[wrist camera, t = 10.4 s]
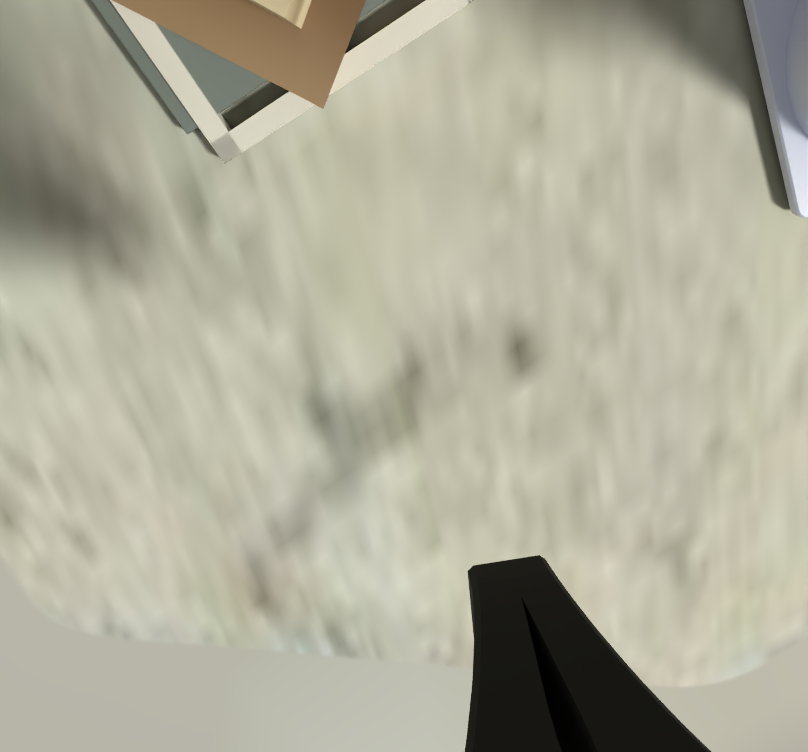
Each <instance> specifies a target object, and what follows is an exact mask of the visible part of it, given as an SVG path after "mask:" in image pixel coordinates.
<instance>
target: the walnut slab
mask: <svg viewBox="0 0 808 752" xmlns="http://www.w3.org/2000/svg"><path fill="white" fill-rule="evenodd" d="M112 1H114V2H116V3H118V4H120V5H122V6H124V7H126V8H128V9H130V10H132V11H134V12H136V13H138V14H140V15H142V16H144V17H146V18H148V19H149V20H151V21H153V22H155V23H157V24H159V25H161V26H163V27H165V28H167V29H169V30H171V31H173V32H175V33H177V34H179V35H181V36H183V37H185V38H186V39H188V40H190V41H192V42H194V43H196V44H198V45H200V46H202V47H204V48H206V49H208V50H210V51H212V52H214V53H216V54H218V55H220V56H222V57H223V58H225V59H227V60H229V61H231V62H233V63H235V64H237V65H239V66H241V67H243V68H245V69H247V70H249V71H251V72H253V73H255V74H257V75H259V76H260V77H262V78H264V79H266V80H268V81H270V82H272V83H274V84H276V85H278V86H280V87H282V88H284V89H286V90H288V91H290V92H292V93H294V94H296V95H297V96H299V97H301V98H303V99H305V100H307V101H309V102H311V103H313V104H315V105H317V106H319V107H321V108H324V106H325V103H326V101H327V98H328V96H329V93H330V91H331V88H332V85H333V83H334V80H335V78H336V75H337V73H338V70H339V68H340V65H341V62H342V60H343V57H344V55H345V52H346V50H347V47H348V45H349V42H350V39H351V37H352V34H353V32H354V29H355V27H356V24H357V22H358V19H359V16H360V14H361V11H362V9H363V6H364V4H365V1H366V0H312V1H311V3H310V6H309V9H308V12H307V15H306V17H305V20H304V23H303V26H302V28H301V29H300V28H298V27H297V26H295V25H293V24H291V23H289V22H288V21H286V20H284V19H282V18H280V17H279V16H277V15H275V14H273V13H271V12H269V11H268V10H266V9H264V8H262V7H260V6H259V5H257V4H255V3H253V2H251V1H250V0H112Z"/></svg>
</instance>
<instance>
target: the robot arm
mask: <svg viewBox="0 0 808 752" xmlns="http://www.w3.org/2000/svg"><path fill="white" fill-rule="evenodd" d="M743 1H744V6H745V10H746V14H747V19H748V23H749V28H750V32H751V37H752V41H753V46H754V50H755V55H756V59H757V63H758V68H759V72H760V77H761V81H762V86H763V90H764V95H765V99H766V104H767V108H768V112H769V117H770V121H771V126H772V130H773V135H774V139H775V144H776V148H777V153H778V157H779V161H780V166H781V170H782V175H783V179H784V184H785V188H786V193H787V197H788V202H789V206H790V209H791V211H792V213H793V214H795V215H796V216H799V217H802V218H808V0H743ZM468 579H469V590H470V600H471V611H472V621H473V632H474V660H473V681H472V693H471V703H470V712H469V722H468V732H467V740H466V747H465V752H711V751H710V750H709V749H708V748H707V747H706V746H705V745H704V744H702V742H700V740H698V739H697V738H696V737H695V736H694V735H693V734H692V733H691V732H690V731H689V730H688V729H687V728H686V727H685V726H684V725H683V724H682V723H681V722H680V721H679V720H678V719H677V718H676V717H675V716H674V715H673V714H672V713H671V711H670V710H668V709H667V707H666V706H665V705H664V704H663V703H662V702H661V701H660V700H659V699H658V698H657V697H656V696H655V695H654V694H653V693H652V691H651V690H650V689H649V688H648V687H647V686H646V685H645V684H644V683H643V682H642V681H641V680H640V678H639V677H638V676H637V675H636V674H635V673H634V672H633V671H632V670H631V668H630V667H629V666H628V665H627V664H626V663H625V662H624V661H623V659H622V658H621V657H620V656H619V655H618V653H617V652H616V651H615V650H614V649H613V648H612V646H611V645H610V644H609V643H608V642H607V641H606V639H605V638H604V637H603V636H602V635H601V634H600V632H599V631H598V630H597V629H596V627H595V626H594V625H593V624H592V623H591V621H590V620H589V619H588V618H587V616H586V615H585V614H584V612H583V611H582V610H581V609H580V607H579V606H578V605H577V603H576V602H575V601H574V600H573V598H572V597H571V596H570V594H569V593H568V591H567V590H566V589H565V587H564V586H563V585H562V583H561V582H560V580H559V579H558V578H557V576H556V575H555V573H554V572H553V570H552V569H551V567H550V566H549V564H548V563H547V561H546V560H545V559H544V558H543V557H541V556H540V555H538V556H532V557H526V558H519V559H513V560H507V561H500V562H494V563H487V564H481V565H475V566H473V567H472V568H471V569H470V570H468Z"/></svg>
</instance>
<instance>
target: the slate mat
mask: <svg viewBox="0 0 808 752" xmlns="http://www.w3.org/2000/svg"><path fill="white" fill-rule="evenodd" d="M384 1H386V0H366V1H365V4H364V6H363V9H362V11H361V14H360V16H359V18H361V17H362V16H364V15H365V14H367V13H368V12H370V11H371V10H373V9H374V8H376V7H377V6H379V5H380V4H382V3H383V2H384ZM472 1H473V0H425V1H424V2H422V3H421V4H419V5H418V6H416V7H415V8H413V9H412V10H410V11H409V12H407V13H406V14H404V15H403V16H401V17H400V18H398V19H397V20H395V21H394V22H392V23H391V24H389V25H388V26H386V27H385V28H383V29H382V30H380V31H379V32H377V33H376V34H374V35H373V36H371V37H370V38H368V39H367V40H365V41H364V42H362V43H361V44H359V45H358V46H356V47H355V48H353V49H352V50H350V51H349V52H347V53H346V54H345V55H344V57H343V60H342V62H341V65H340V68H339V70H338V73H337V75H336V78H335V80H334V83H333V85H332V88H331V91H330V93H329V95H330V94H332V93H333V92H335V91H336V90H338V89H339V88H341V87H343V86H344V85H346V84H347V83H349V82H350V81H352V80H353V79H355V78H356V77H358V76H359V75H361V74H362V73H364V72H365V71H367V70H368V69H370V68H371V67H373V66H375V65H376V64H378V63H379V62H381V61H382V60H384V59H385V58H387V57H388V56H390V55H391V54H393V53H394V52H396V51H397V50H399V49H400V48H402V47H403V46H405V45H406V44H408V43H410V42H411V41H413V40H414V39H416V38H417V37H419V36H420V35H422V34H423V33H425V32H426V31H428V30H429V29H431V28H432V27H434V26H435V25H437V24H438V23H440V22H441V21H443V20H445V19H446V18H448V17H449V16H451V15H452V14H454V13H455V12H457V11H458V10H460V9H461V8H463V7H464V6H466V5H467V4H469V3H470V2H472ZM92 2H93V3H94V5H95V6H96V7H97V9H98V10H99V12H100V13H101V14H102V16H103V17H104V19H105V20H106V21H107V23H108V24H109V26H110V27H111V28H112V30H113V31H114V33H115V34H116V35H117V37H118V38H119V40H120V41H121V42H122V44H123V45H124V47H125V48H126V49H127V51H128V52H129V54H130V55H131V56H132V58H133V59H134V61H135V62H136V63H137V65H138V66H139V68H140V69H141V71H142V72H143V73H144V75H145V76H146V78H147V79H148V80H149V82H150V83H151V85H152V86H153V87H154V89H155V90H156V92H157V93H158V94H159V96H160V97H161V99H162V100H163V101H164V103H165V104H166V106H167V107H168V108H169V110H170V111H171V113H172V114H173V115H174V117H175V118H176V120H177V121H178V122H179V124H180V125H181V127H182V128H183V129H184V131H185V132H186V134H189V133H191V132H192V131H194V130H195V129H197V128H198V127H199V128H200V130H201V131H202V133H203V134H204V136H205V137H206V138H207V140H208V141H209V143H210V144H211V146H212V147H213V148H214V150H215V151H216V153H217V154H218V156H219V157H220V158H221V160H222V161H223V163H224V164H225V163H227V162H228V161H230V160H231V159H233V158H234V157H236V156H238V155H239V154H241V153H242V152H244V151H245V150H247V149H248V148H250V147H251V146H253V145H254V144H256V143H257V142H259V141H260V140H262V139H263V138H265V137H266V136H268V135H269V134H271V133H273V132H274V131H276V130H277V129H279V128H280V127H282V126H283V125H285V124H286V123H288V122H289V121H291V120H292V119H294V118H295V117H297V116H298V115H300V114H301V113H303V112H304V111H306V110H308V109H309V108H311V107H312V106H314V105H315V104H313V103H311V102H309V101H307V100H305V99H303V98H301V97H299V96H297V95H296V94H294V93H292V92H290V91H289V92H287V93H286V94H284V95H283V96H281V97H280V98H278V99H277V100H275V101H274V102H272V103H271V104H269V105H268V106H266V107H265V108H263V109H262V110H260V111H259V112H257V113H256V114H254V115H253V116H251V117H250V118H248V119H247V120H245V121H244V122H243V123H241V124H240V125H238V126H237V127H235V128H234V129H232V130H231V128H230V127H229V125H228V124H227V122H226V121H225V119H224V118H223V116H222V115H221V113H220V112H222V111H223V110H225V109H226V108H228V107H229V106H231V105H232V104H234V103H235V102H237V101H238V100H240V99H241V98H243V97H244V96H245V95H247V94H248V93H250V92H251V91H253V90H254V89H256V88H257V87H259V86H260V85H262V84H263V83H265V82H266V81H268V80H266V79H264V78H262V77H260V76H259V75H257V74H255V73H253V72H251V71H249V70H247V69H245V68H243V67H241V66H239V65H237V64H235V63H233V62H231V61H229V60H227V59H225V58H223V57H222V56H220V55H218V54H216V53H214V52H212V51H210V50H208V49H206V48H204V47H202V46H200V45H198V44H196V43H194V42H192V41H190V40H188V39H186V38H185V37H183V36H181V35H179V34H177V33H175V32H173V31H171V30H169V29H167V28H165V27H163V26H161V25H159V24H157V23H155V22H153V21H151V20H149V19H148V18H146V17H144V16H142V15H140V14H138V13H136V12H134V11H132V10H130V9H128V8H126V7H124V6H122V5H120V4H118V3H116V2H114V1H112V0H92Z"/></svg>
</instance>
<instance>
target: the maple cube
mask: <svg viewBox="0 0 808 752" xmlns="http://www.w3.org/2000/svg"><path fill="white" fill-rule="evenodd" d="M250 1H251V2H253V3H255V4H257V5H259V6H260V7H262V8H264V9H266V10H268V11H269V12H271V13H273V14H275V15H277V16H279V17H280V18H282V19H284V20H286V21H288V22H289V23H291V24H293V25H295V26H297V27H298V28H300V29H301V28H302V26H303V23H304V20H305V17H306V15H307V12H308V9H309V6H310V3H311V1H312V0H250Z"/></svg>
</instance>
